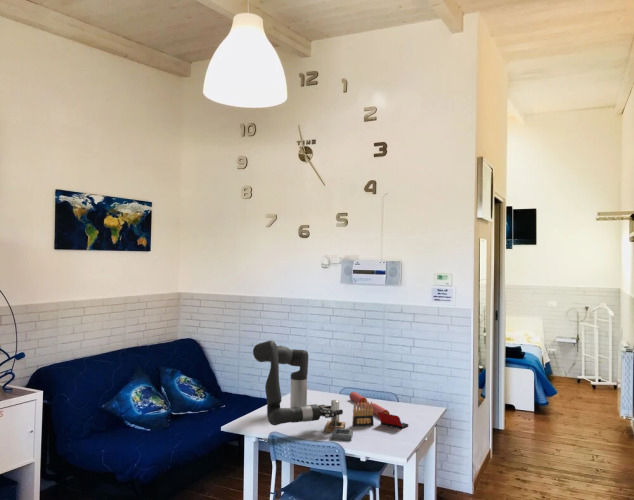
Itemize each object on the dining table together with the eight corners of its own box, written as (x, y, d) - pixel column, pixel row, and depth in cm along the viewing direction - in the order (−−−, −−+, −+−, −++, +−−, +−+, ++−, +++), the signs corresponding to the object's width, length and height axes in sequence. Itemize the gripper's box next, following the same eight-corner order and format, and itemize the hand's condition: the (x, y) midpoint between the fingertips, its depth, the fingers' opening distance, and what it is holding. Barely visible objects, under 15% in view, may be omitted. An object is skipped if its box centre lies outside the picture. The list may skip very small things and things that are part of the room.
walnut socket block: (327, 425, 273) (327, 420, 273) (345, 427, 271) (345, 422, 271) (324, 431, 264) (324, 426, 264) (343, 432, 262) (343, 427, 262)
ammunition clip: (353, 426, 272) (353, 402, 272) (352, 425, 274) (352, 401, 274) (373, 425, 274) (373, 401, 275) (372, 424, 276) (372, 400, 276)
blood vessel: (389, 419, 287) (389, 409, 287) (381, 420, 285) (381, 410, 285) (356, 399, 326) (356, 391, 326) (349, 400, 325) (349, 392, 325)
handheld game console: (409, 426, 274) (409, 411, 275) (398, 431, 266) (398, 416, 266) (387, 421, 282) (388, 407, 282) (376, 426, 274) (377, 411, 274)
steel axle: (331, 427, 270) (331, 399, 270) (339, 428, 269) (339, 400, 269) (330, 430, 266) (330, 401, 266) (338, 430, 265) (338, 402, 265)
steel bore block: (334, 433, 261) (334, 428, 261) (352, 434, 260) (353, 429, 260) (331, 439, 252) (331, 434, 252) (350, 440, 251) (351, 435, 251)
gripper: (315, 409, 255) (345, 405, 262) (302, 401, 268) (332, 398, 275) (314, 425, 255) (345, 421, 262) (302, 417, 268) (331, 413, 275)
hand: (338, 409), depth 268 cm, fingers open, 8 cm apart
